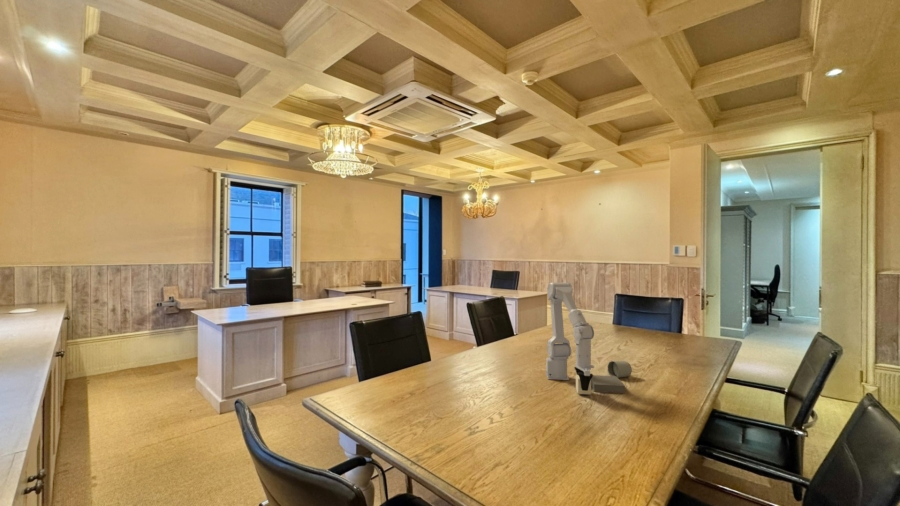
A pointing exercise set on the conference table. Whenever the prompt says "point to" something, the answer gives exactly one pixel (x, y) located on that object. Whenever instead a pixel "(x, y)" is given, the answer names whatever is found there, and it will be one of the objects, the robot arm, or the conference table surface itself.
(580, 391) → the cream block
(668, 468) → the conference table surface
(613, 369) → the ceramic mug
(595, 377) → the gray plinth
